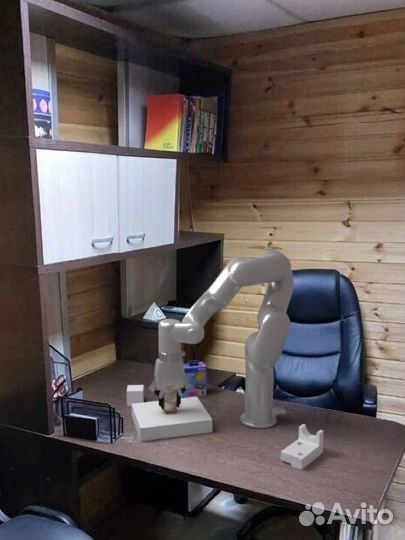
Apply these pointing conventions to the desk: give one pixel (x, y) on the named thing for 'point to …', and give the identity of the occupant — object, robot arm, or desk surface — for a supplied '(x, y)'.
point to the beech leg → (170, 400)
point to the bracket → (303, 448)
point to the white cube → (135, 394)
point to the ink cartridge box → (195, 379)
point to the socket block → (170, 420)
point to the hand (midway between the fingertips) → (169, 406)
